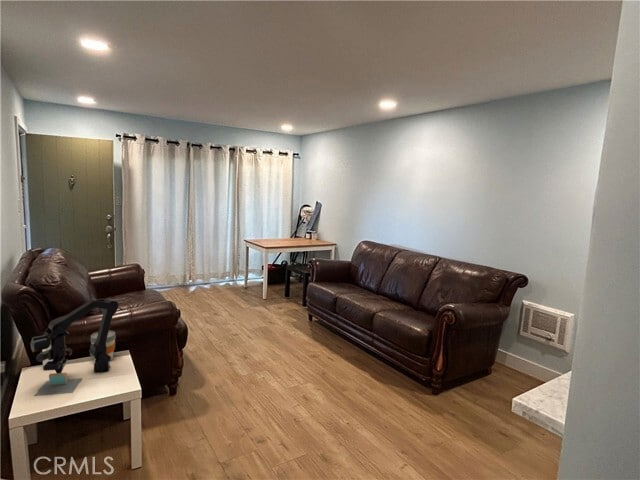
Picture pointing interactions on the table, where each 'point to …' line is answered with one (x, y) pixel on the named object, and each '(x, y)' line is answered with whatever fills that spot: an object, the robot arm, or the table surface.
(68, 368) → the table surface
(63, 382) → the tile
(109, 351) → the reusable coffee cup
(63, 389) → the mat
